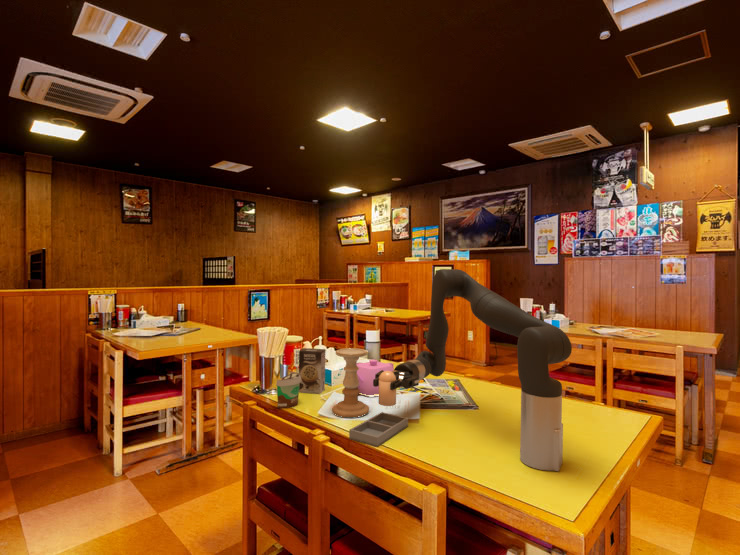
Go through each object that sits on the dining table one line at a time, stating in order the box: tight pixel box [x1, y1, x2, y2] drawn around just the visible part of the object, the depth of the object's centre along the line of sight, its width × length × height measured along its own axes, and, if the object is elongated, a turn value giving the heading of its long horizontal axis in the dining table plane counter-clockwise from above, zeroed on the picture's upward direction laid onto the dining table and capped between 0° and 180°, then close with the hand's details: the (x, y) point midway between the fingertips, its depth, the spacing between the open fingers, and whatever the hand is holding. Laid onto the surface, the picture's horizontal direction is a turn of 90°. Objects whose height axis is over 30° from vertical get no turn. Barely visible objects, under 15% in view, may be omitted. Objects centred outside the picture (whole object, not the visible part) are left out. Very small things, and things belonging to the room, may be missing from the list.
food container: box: [275, 371, 302, 409], centre depth 138 cm, size 12×6×10 cm, turn 168°
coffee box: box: [298, 347, 327, 395], centre depth 154 cm, size 9×6×16 cm
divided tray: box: [348, 411, 409, 448], centre depth 115 cm, size 9×17×2 cm, turn 147°
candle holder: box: [331, 347, 370, 418], centre depth 131 cm, size 12×12×20 cm
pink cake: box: [356, 358, 395, 395], centre depth 155 cm, size 17×17×12 cm
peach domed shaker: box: [378, 371, 397, 407], centre depth 118 cm, size 5×5×10 cm
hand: (383, 384), depth 116 cm, fingers closed on peach domed shaker, 5 cm apart
